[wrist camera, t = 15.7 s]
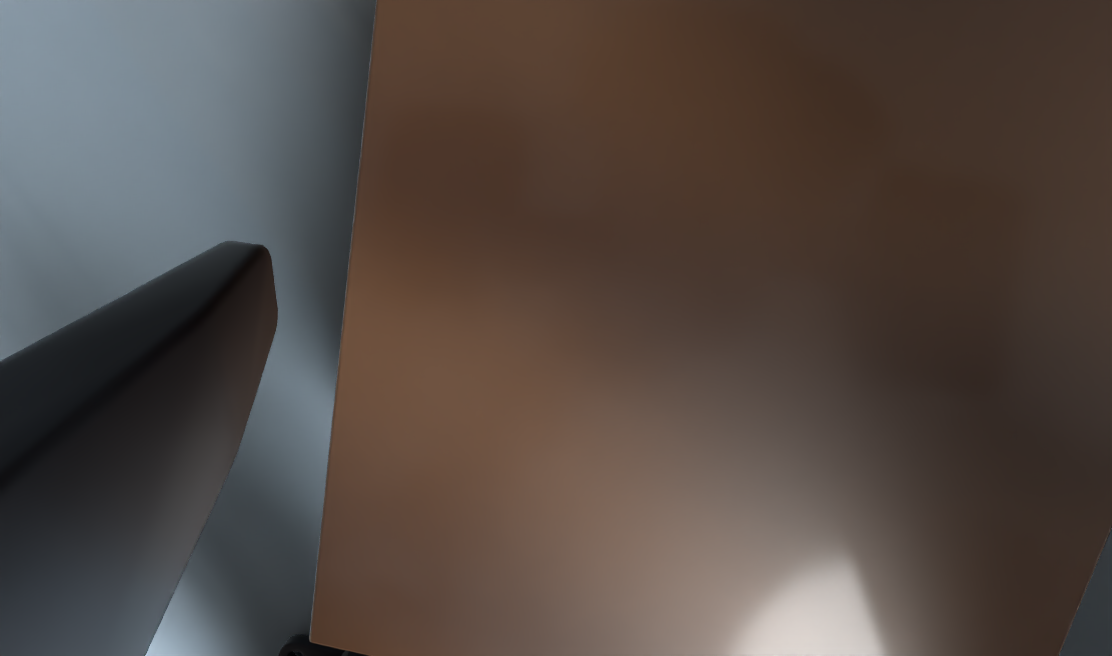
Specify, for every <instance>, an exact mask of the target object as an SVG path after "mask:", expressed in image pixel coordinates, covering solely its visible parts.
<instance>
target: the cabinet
mask: <svg viewBox="0 0 1112 656" xmlns="http://www.w3.org/2000/svg"><path fill="white" fill-rule="evenodd" d="M1111 529H1112V0H376V8H375V18H374V27H373V37H372V46H371V56H370V65H369V75H368V84H367V94H366V103H365V113H364V122H363V132H362V141H361V151H360V160H359V170H358V179H357V189H356V198H355V208H354V217H353V227H352V236H351V246H350V255H349V265H348V274H347V284H346V293H345V303H344V312H343V322H342V331H341V341H340V350H339V360H338V369H337V379H336V388H335V398H334V407H333V417H332V426H331V436H330V445H329V455H328V465H327V474H326V484H325V493H324V503H323V512H322V522H321V531H320V541H319V550H318V560H317V569H316V579H315V588H314V598H313V607H312V617H311V626H310V636H309V640H310V642H312V643H316V644H320V645H325V646H329V647H334V648H338V649H342V650H347V651H351V652H356V653H360V654H365V655H369V656H1059V654H1060V652H1061V649H1062V647H1063V645H1064V642H1065V640H1066V637H1067V635H1068V633H1069V630H1070V628H1071V625H1072V623H1073V620H1074V618H1075V616H1076V613H1077V611H1078V608H1079V606H1080V604H1081V601H1082V599H1083V596H1084V594H1085V591H1086V589H1087V587H1088V584H1089V582H1090V579H1091V577H1092V575H1093V572H1094V570H1095V567H1096V565H1097V562H1098V560H1099V558H1100V555H1101V553H1102V550H1103V548H1104V546H1105V543H1106V541H1107V538H1108V536H1109V534H1110V531H1111Z"/></svg>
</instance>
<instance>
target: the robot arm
mask: <svg viewBox="0 0 1112 656" xmlns="http://www.w3.org/2000/svg"><path fill="white" fill-rule="evenodd" d="M277 320H278V307H277V299H276V291H275V283H274V275H273V268H272V260H271V256H270V253H269V251H268V249H267V248H266V247H264V246H263V245H260V244H252V243H244V242H237V241H225V242H223V243H220V244H218V245H216V246H215V247H213V248H211V249H209V250H207V251H205V252H203V253H201V254H200V255H198V256H196V257H194V258H192V259H190V260H188V261H187V262H185V263H183V264H181V265H179V266H177V267H175V268H173V269H172V270H170V271H168V272H166V273H164V274H162V275H160V276H158V277H157V278H155V279H153V280H151V281H149V282H147V283H145V284H144V285H142V286H140V287H138V288H136V289H134V290H132V291H130V292H129V293H127V294H125V295H123V296H121V297H119V298H117V299H116V300H114V301H112V302H110V303H108V304H106V305H104V306H102V307H101V308H99V309H97V310H95V311H93V312H91V313H89V314H88V315H86V316H84V317H82V318H80V319H78V320H76V321H74V322H73V323H71V324H69V325H67V326H65V327H63V328H61V329H59V330H58V331H56V332H54V333H52V334H50V335H48V336H46V337H45V338H43V339H41V340H39V341H37V342H35V343H33V344H31V345H30V346H28V347H26V348H24V349H22V350H20V351H18V352H17V353H15V354H13V355H11V356H9V357H7V358H5V359H3V360H2V361H0V656H145V655H146V653H147V650H148V648H149V646H150V644H151V642H152V639H153V637H154V635H155V633H156V631H157V629H158V626H159V624H160V622H161V620H162V618H163V615H164V613H165V611H166V609H167V607H168V605H169V602H170V600H171V598H172V596H173V594H174V591H175V589H176V587H177V585H178V583H179V581H180V578H181V576H182V574H183V572H184V570H185V567H186V565H187V563H188V561H189V559H190V557H191V554H192V552H193V550H194V548H195V546H196V543H197V541H198V539H199V537H200V535H201V533H202V530H203V528H204V526H205V524H206V522H207V519H208V517H209V515H210V513H211V511H212V509H213V506H214V504H215V502H216V500H217V498H218V495H219V493H220V491H221V489H222V487H223V485H224V482H225V480H226V478H227V476H228V474H229V471H230V469H231V466H232V464H233V462H234V459H235V457H236V455H237V452H238V449H239V446H240V443H241V440H242V437H243V434H244V431H245V428H246V425H247V421H248V418H249V415H250V412H251V409H252V405H253V402H254V399H255V396H256V393H257V389H258V386H259V383H260V380H261V377H262V373H263V370H264V367H265V364H266V361H267V358H268V354H269V351H270V348H271V345H272V342H273V338H274V335H275V332H276V327H277ZM293 651H298V652H300V653H302V654H303V656H369V655H365V654H360V653H356V652H351V651H347V650H342V649H338V648H334V647H329V646H325V645H320V644H316V643H312V642H310V640H309V636H306V635H294V636H291V637H290V638H289V639H287V640H286V642H285V643H284V645H283V647H282V648H281V650H280V653H279V656H297V655H296V654H295V653H294V652H293Z"/></svg>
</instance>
